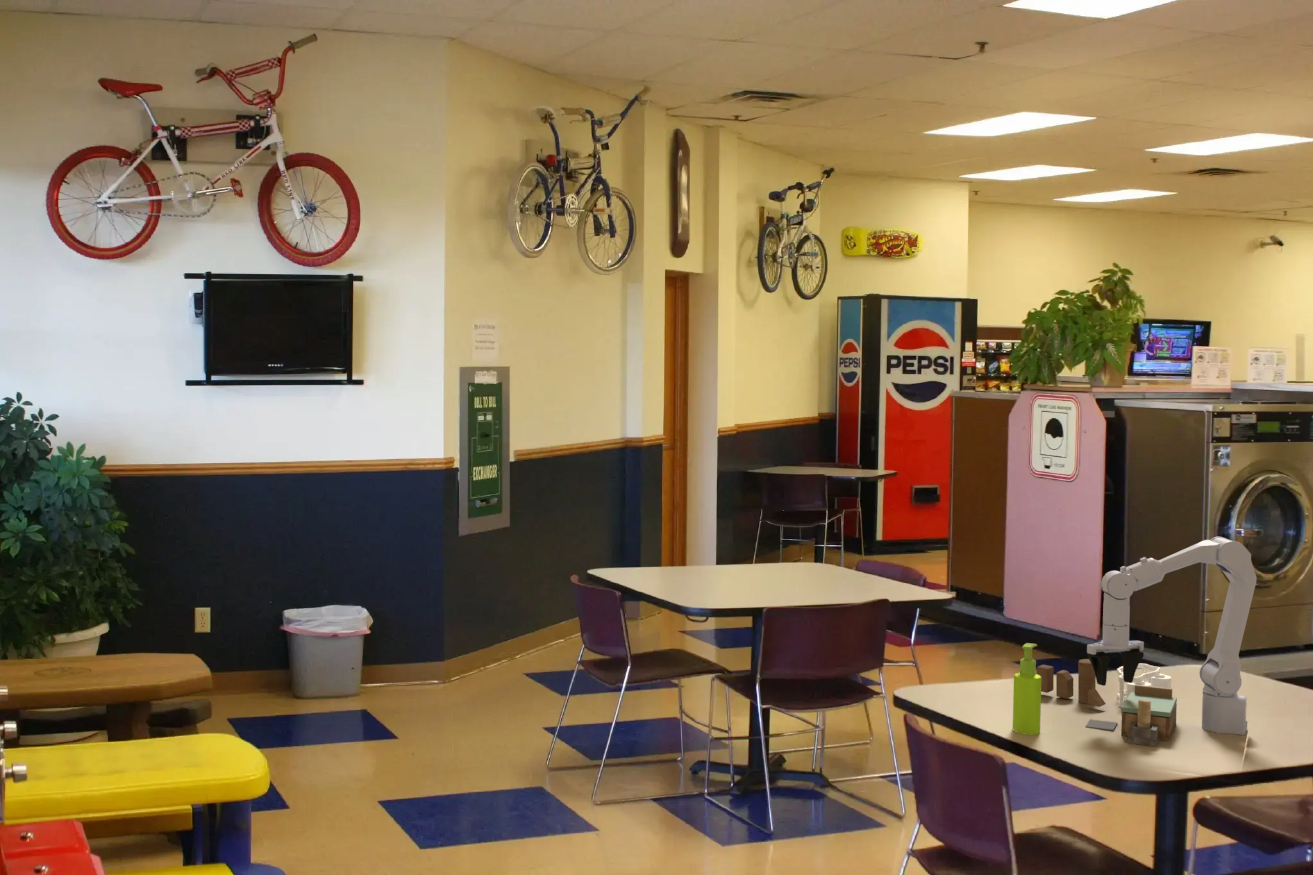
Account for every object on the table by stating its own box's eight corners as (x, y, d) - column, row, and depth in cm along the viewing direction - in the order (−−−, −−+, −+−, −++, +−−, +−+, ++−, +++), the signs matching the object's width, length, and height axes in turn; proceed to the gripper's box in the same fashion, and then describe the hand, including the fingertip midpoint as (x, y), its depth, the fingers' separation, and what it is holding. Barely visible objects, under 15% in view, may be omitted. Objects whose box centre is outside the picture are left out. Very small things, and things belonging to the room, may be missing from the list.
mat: (1117, 724, 303) (1117, 722, 303) (1113, 731, 297) (1113, 729, 297) (1090, 721, 306) (1090, 719, 305) (1085, 727, 299) (1085, 726, 299)
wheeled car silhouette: (1141, 711, 315) (1142, 681, 315) (1097, 703, 323) (1098, 673, 323) (1177, 698, 329) (1178, 669, 329) (1135, 690, 337) (1135, 661, 337)
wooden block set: (1032, 698, 327) (1032, 658, 326) (1051, 690, 333) (1051, 651, 332) (1099, 714, 314) (1099, 672, 313) (1117, 705, 320) (1117, 664, 318)
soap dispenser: (1044, 731, 296) (1046, 643, 295) (1036, 738, 290) (1038, 648, 289) (1017, 727, 299) (1020, 640, 298) (1009, 734, 293) (1011, 645, 292)
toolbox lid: (1176, 701, 303) (1177, 688, 303) (1169, 717, 289) (1170, 703, 289) (1130, 696, 308) (1131, 683, 307) (1121, 711, 293) (1122, 698, 293)
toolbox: (1176, 724, 303) (1176, 702, 303) (1166, 747, 284) (1167, 724, 283) (1130, 718, 308) (1130, 697, 308) (1117, 741, 288) (1118, 719, 288)
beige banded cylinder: (1150, 741, 289) (1151, 700, 289) (1149, 743, 287) (1150, 702, 286) (1137, 739, 290) (1138, 699, 290) (1136, 742, 288) (1137, 701, 287)
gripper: (1129, 619, 307) (1127, 677, 308) (1078, 623, 302) (1077, 681, 302) (1150, 624, 301) (1149, 683, 301) (1099, 628, 295) (1098, 688, 296)
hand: (1114, 683), depth 301 cm, fingers open, 7 cm apart
